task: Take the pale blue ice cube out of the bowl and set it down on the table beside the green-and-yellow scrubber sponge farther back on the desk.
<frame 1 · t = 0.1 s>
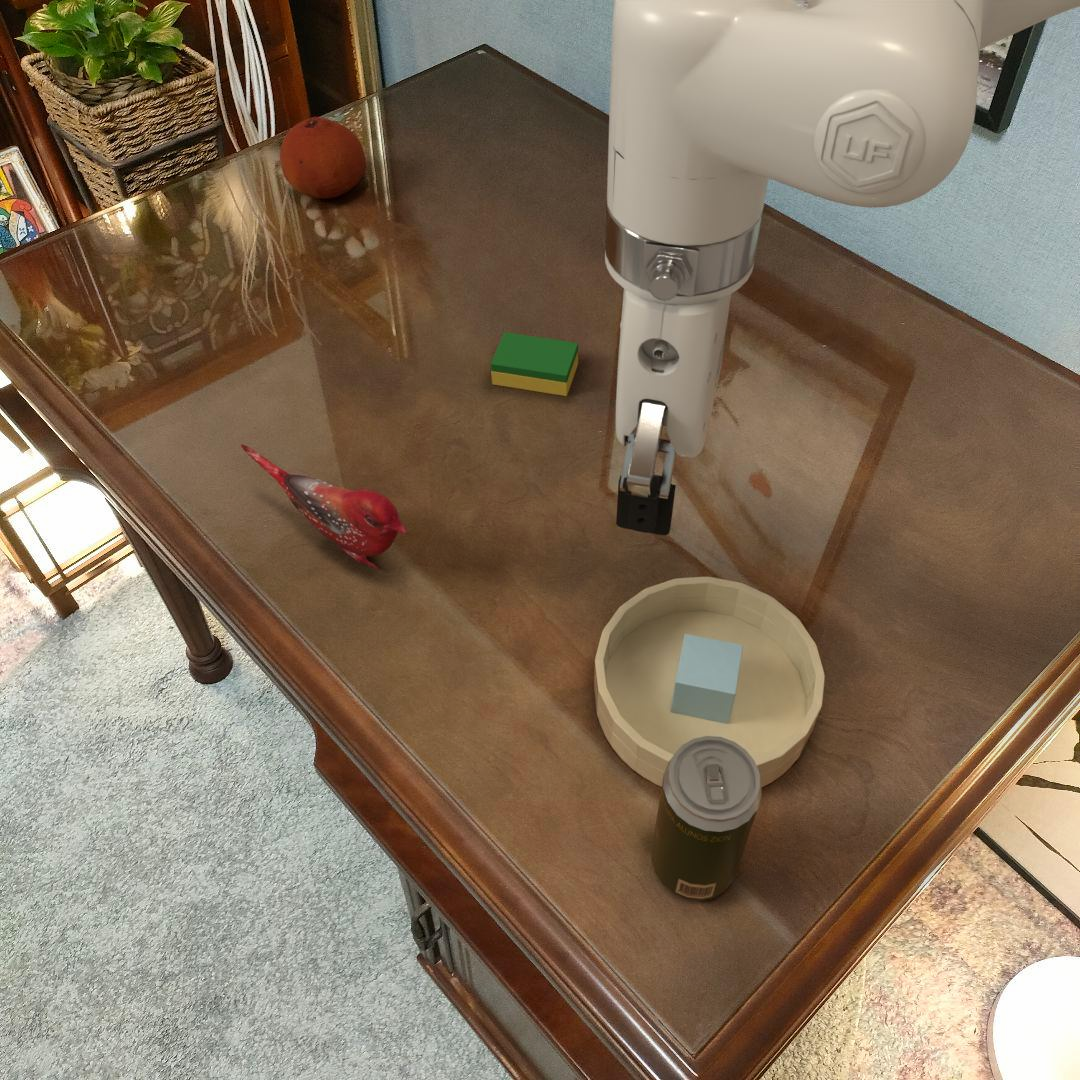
hand: (657, 469, 64), 16 cm above the table, tool pointing down, fingers open, 9 cm apart
bowl: (702, 697, 72), on the table
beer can: (692, 863, 64), on the table
scrubber: (535, 374, 93), on the table
decorative bird figurine: (336, 546, 81), on the table
fruit: (328, 192, 113), on the table
ice cube: (703, 693, 71), resting on bowl
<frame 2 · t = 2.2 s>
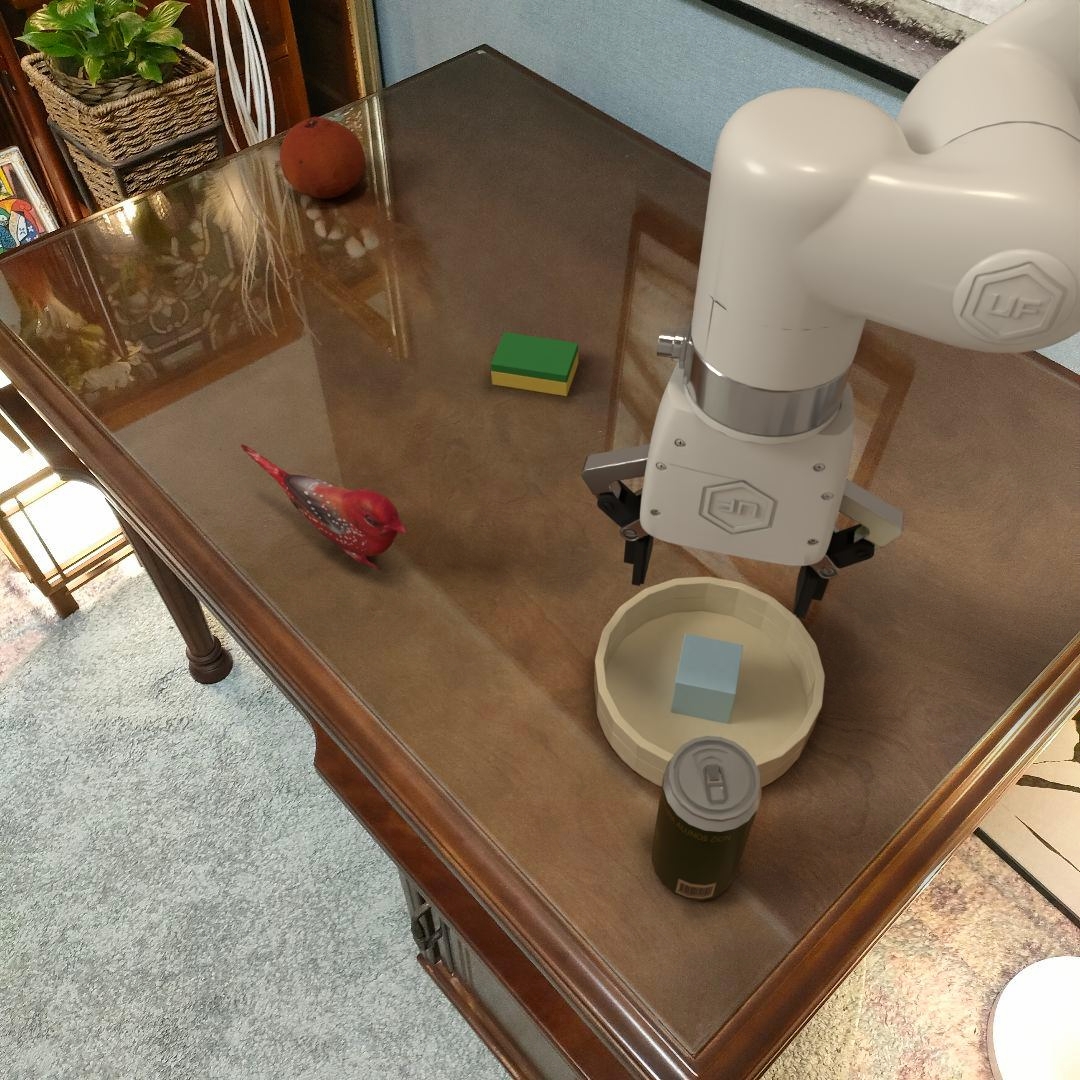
hand: (720, 582, 61), 13 cm above the table, tool pointing down, fingers open, 9 cm apart
nothing on the table moved.
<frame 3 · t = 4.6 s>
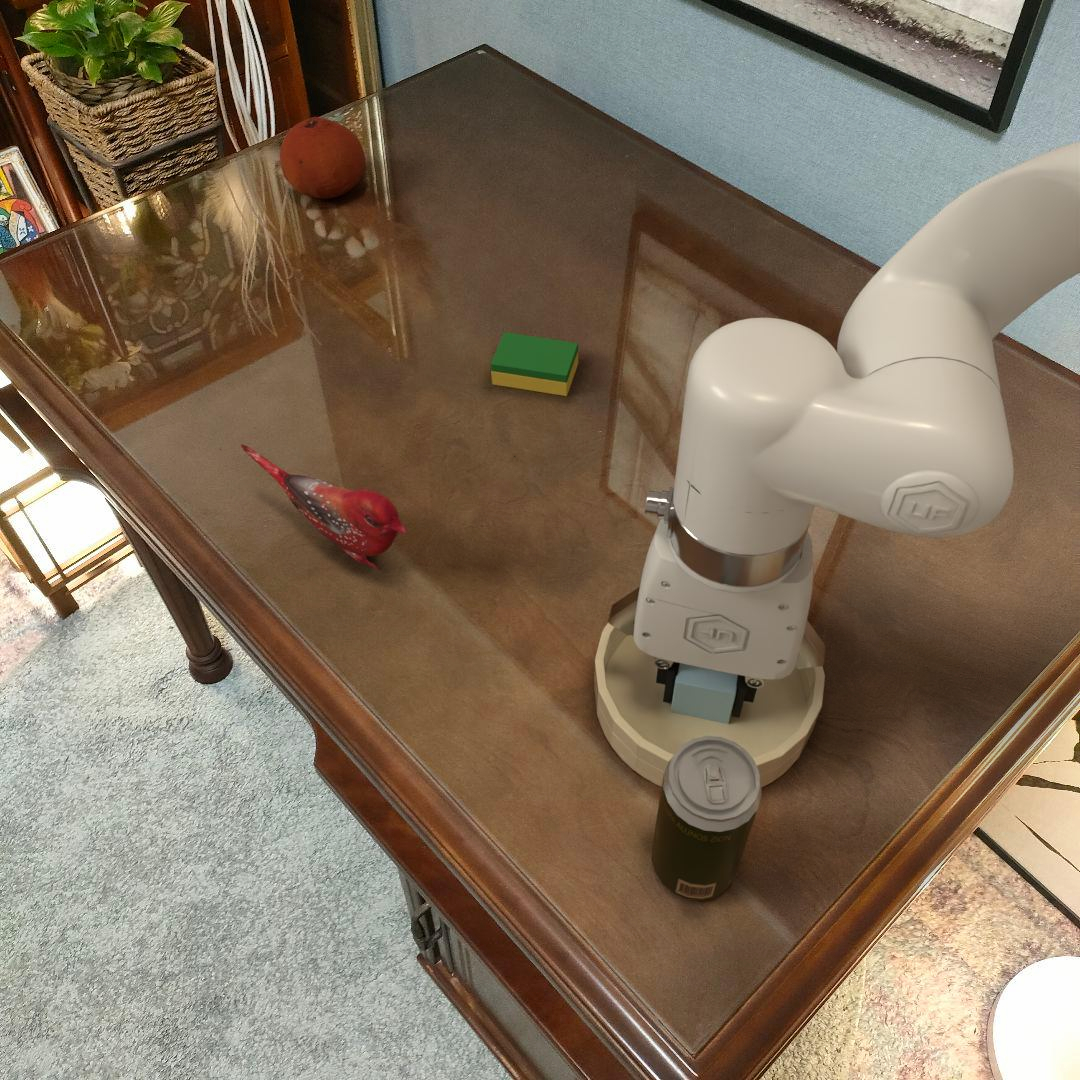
hand: (704, 690, 71), 1 cm above the table, tool pointing down, fingers closed on ice cube, 4 cm apart
ice cube: (703, 693, 71), point 1 cm above the table, touching gripper, bowl
everything else where it was.
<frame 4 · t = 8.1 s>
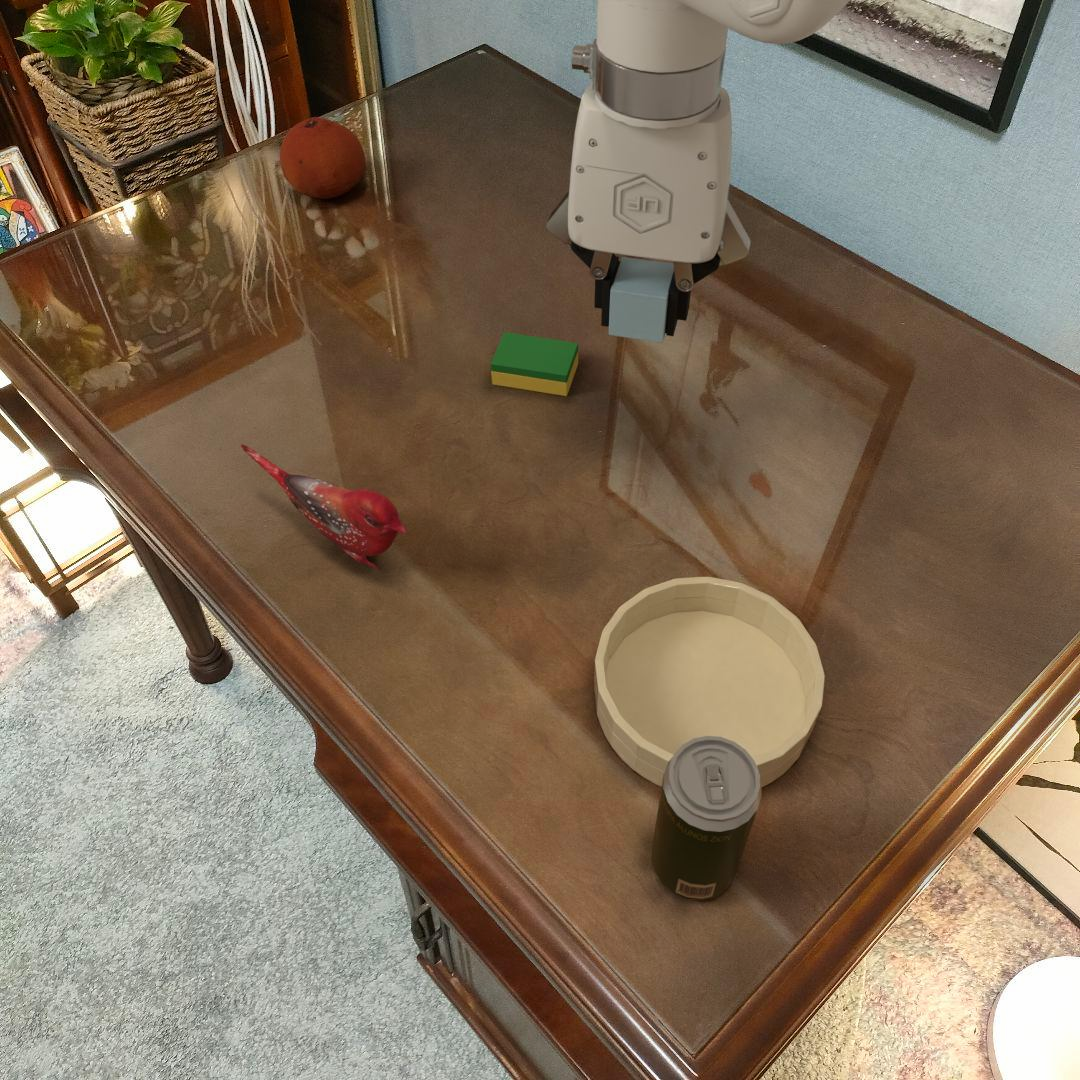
hand: (641, 317, 75), 15 cm above the table, tool pointing down, fingers closed on ice cube, 4 cm apart
ice cube: (640, 321, 75), point 15 cm above the table, touching gripper
everything else where it was.
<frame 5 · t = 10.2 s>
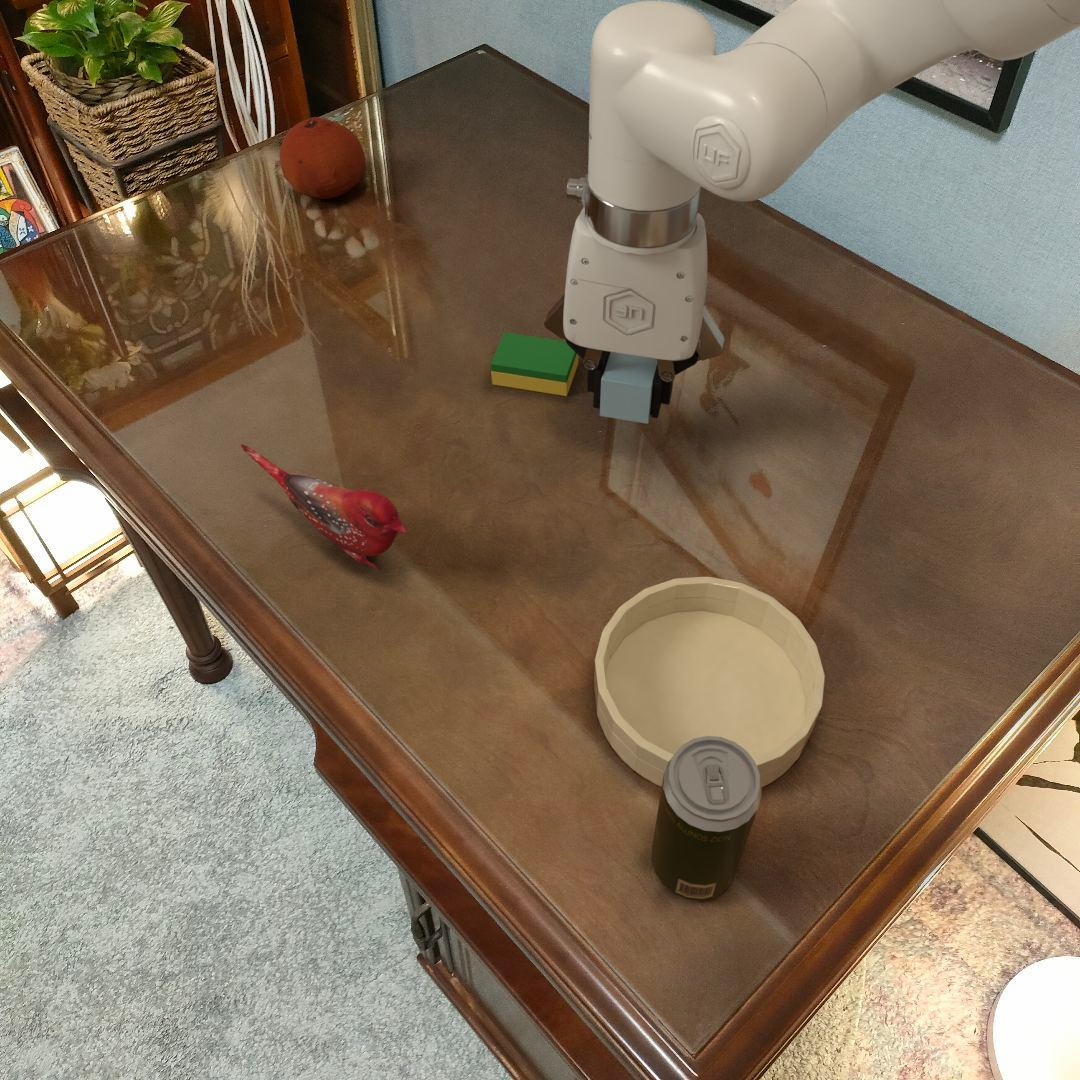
hand: (629, 399, 83), 5 cm above the table, tool pointing down, fingers closed on ice cube, 4 cm apart
ice cube: (628, 403, 84), point 5 cm above the table, touching gripper
everything else where it was.
when the fingers open (0 cm above the table, at t = 11.7 s): ice cube stays where it is, on the table.
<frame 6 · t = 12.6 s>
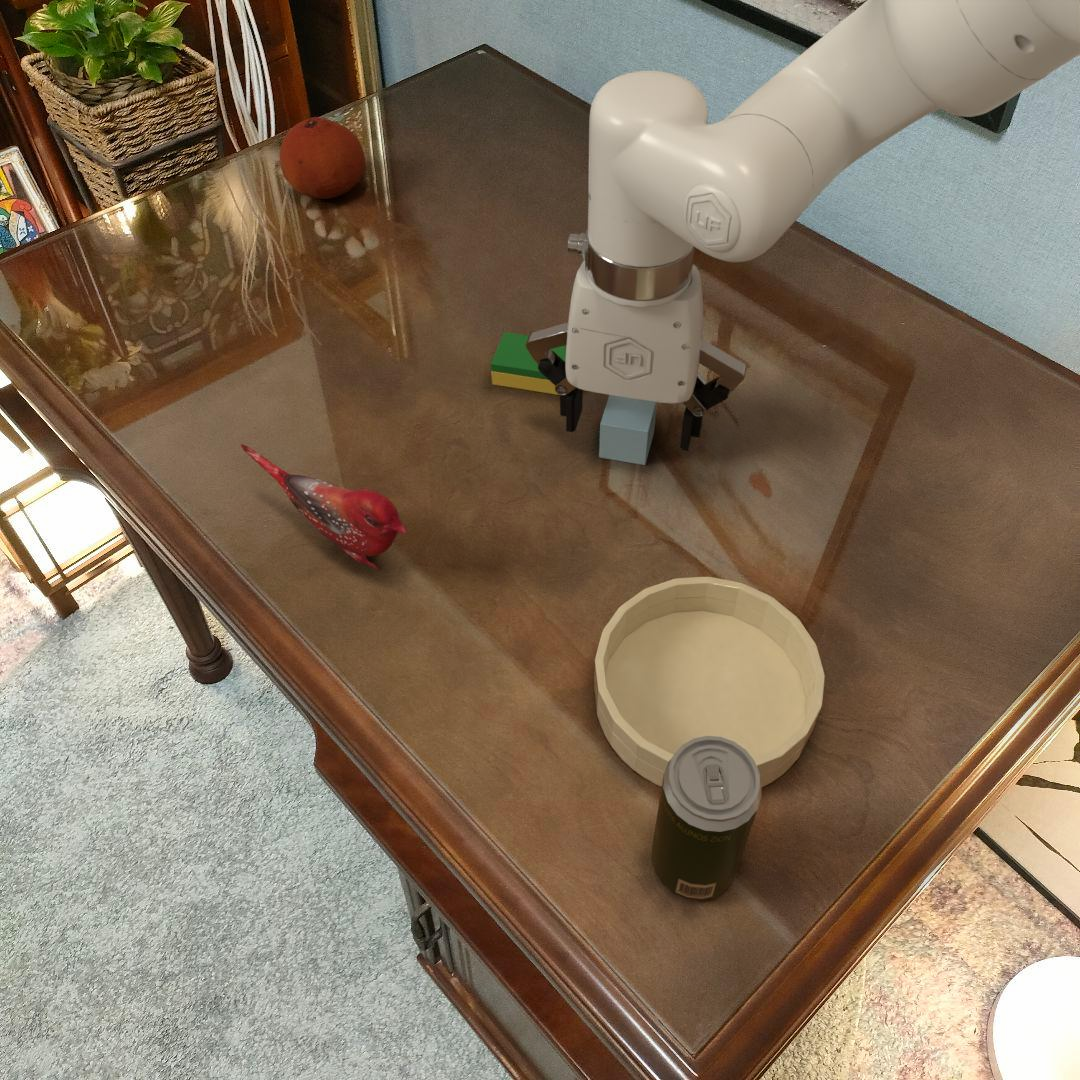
hand: (630, 429, 86), 2 cm above the table, tool pointing down, fingers open, 9 cm apart
ice cube: (626, 445, 87), on the table
everything else where it was.
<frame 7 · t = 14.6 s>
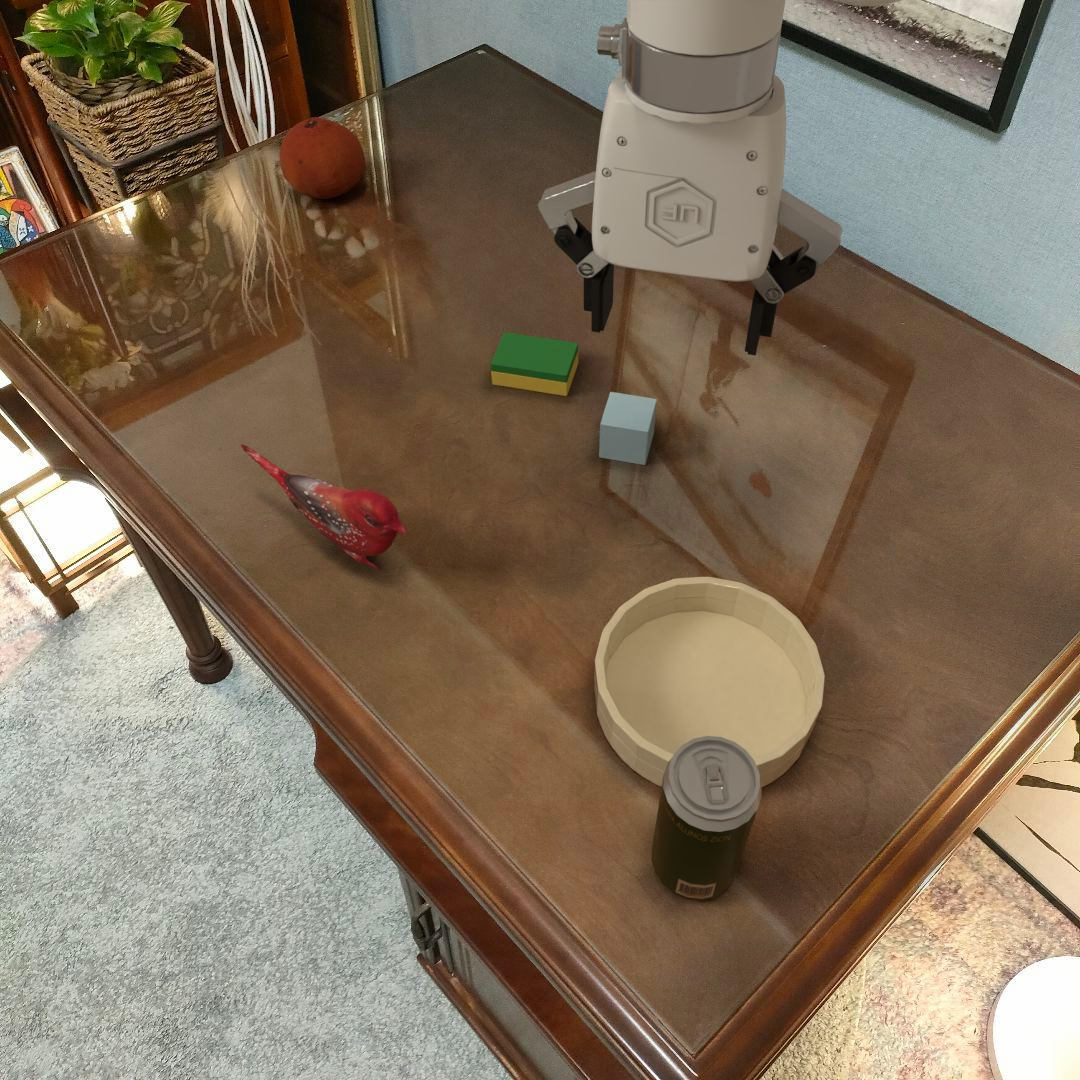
hand: (676, 329, 64), 21 cm above the table, tool pointing down, fingers open, 9 cm apart
nothing on the table moved.
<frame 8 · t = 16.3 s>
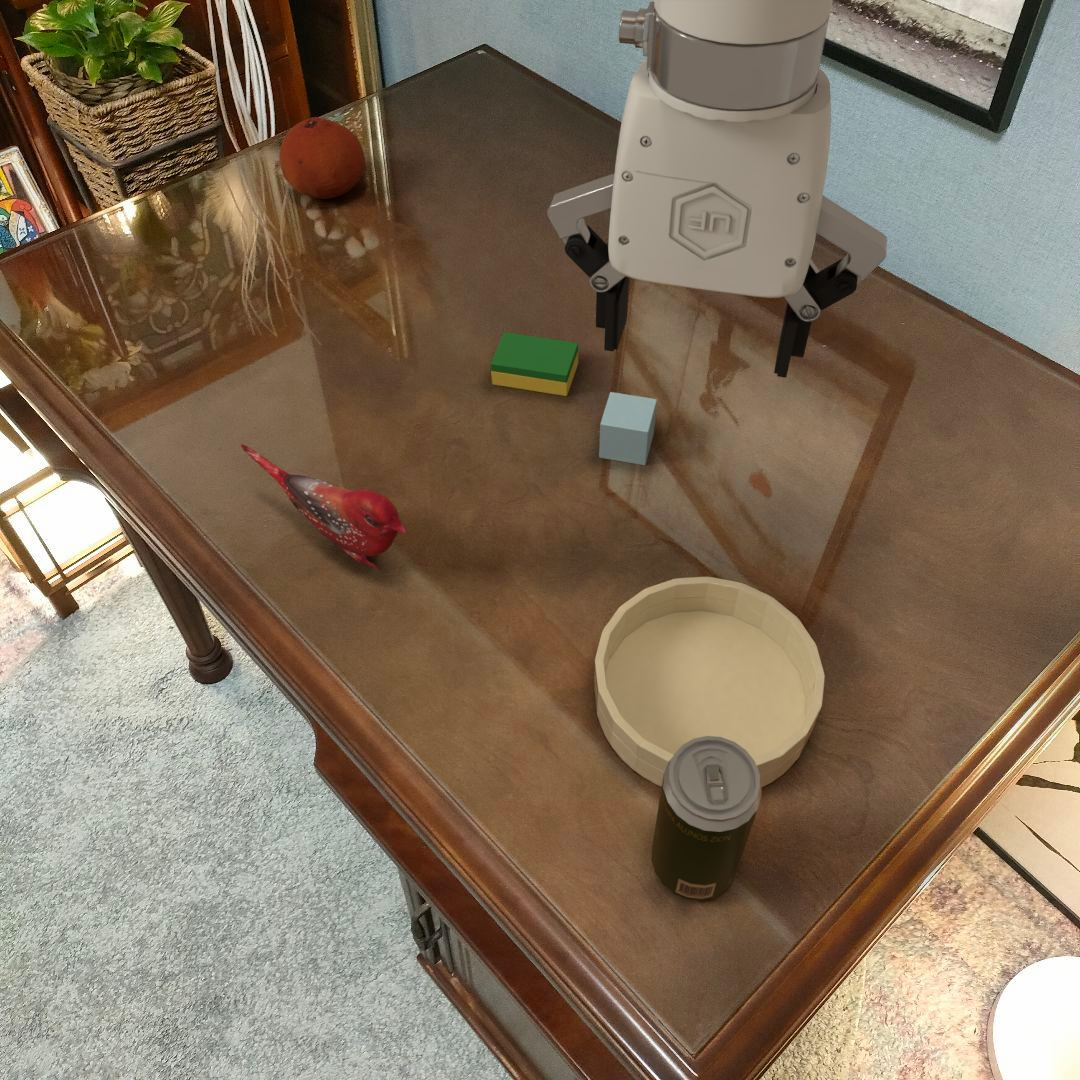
hand: (697, 348, 58), 24 cm above the table, tool pointing down, fingers open, 9 cm apart
nothing on the table moved.
at the end: ice cube inside the target area on the table beside the scrubber (0.1 cm from its centre), on the table; the gripper is holding nothing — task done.
